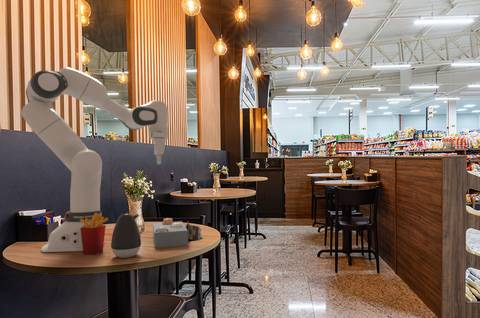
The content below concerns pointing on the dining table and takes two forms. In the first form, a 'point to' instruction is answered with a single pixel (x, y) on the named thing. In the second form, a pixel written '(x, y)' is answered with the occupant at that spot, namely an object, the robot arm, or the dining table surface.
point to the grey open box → (170, 236)
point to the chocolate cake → (193, 232)
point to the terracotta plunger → (168, 221)
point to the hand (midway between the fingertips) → (158, 164)
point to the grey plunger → (161, 229)
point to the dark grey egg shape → (126, 237)
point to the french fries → (93, 235)
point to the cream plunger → (176, 225)
